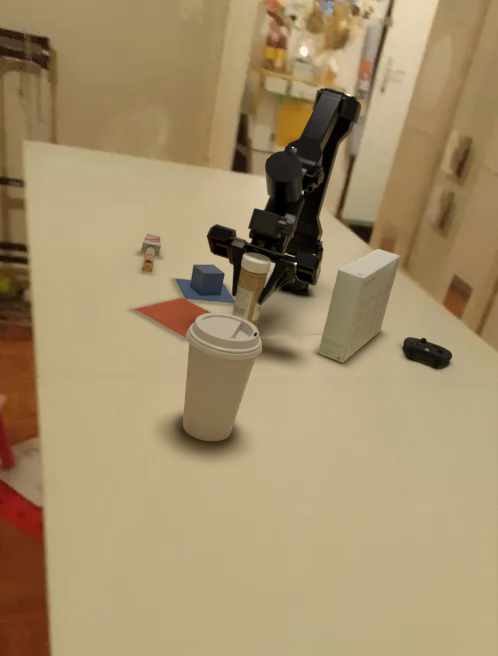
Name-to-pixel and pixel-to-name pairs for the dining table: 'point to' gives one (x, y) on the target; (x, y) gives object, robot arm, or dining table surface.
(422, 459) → the dining table surface
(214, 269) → the blue block
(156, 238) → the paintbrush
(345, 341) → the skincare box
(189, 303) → the terracotta mat
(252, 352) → the coffee cup
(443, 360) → the game controller
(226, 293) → the blue mat
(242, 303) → the sprinkles bottle
